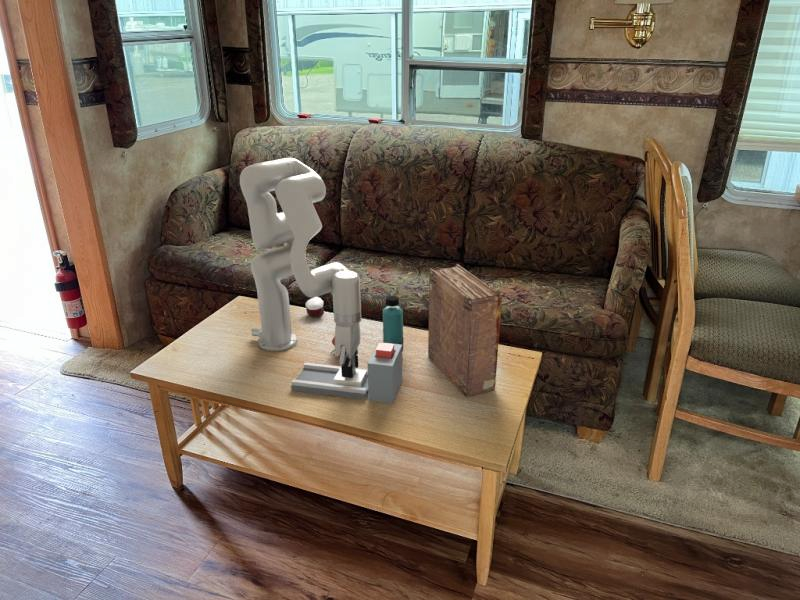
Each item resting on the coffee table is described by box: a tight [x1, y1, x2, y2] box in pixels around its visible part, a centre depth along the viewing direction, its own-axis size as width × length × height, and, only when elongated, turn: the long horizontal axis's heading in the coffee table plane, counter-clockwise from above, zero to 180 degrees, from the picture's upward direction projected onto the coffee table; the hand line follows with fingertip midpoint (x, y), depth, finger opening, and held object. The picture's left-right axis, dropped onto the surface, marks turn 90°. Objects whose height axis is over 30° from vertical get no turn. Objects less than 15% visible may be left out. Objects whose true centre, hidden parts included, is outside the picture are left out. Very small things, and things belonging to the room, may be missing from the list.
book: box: [427, 263, 503, 398], centre depth 180 cm, size 25×9×30 cm, turn 24°
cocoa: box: [305, 296, 325, 318], centre depth 220 cm, size 10×6×12 cm, turn 26°
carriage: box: [334, 353, 367, 387], centre depth 178 cm, size 8×6×9 cm
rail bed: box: [290, 362, 369, 401], centre depth 181 cm, size 22×12×3 cm, turn 77°
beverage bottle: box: [382, 295, 405, 353], centre depth 192 cm, size 6×7×20 cm
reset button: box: [376, 342, 394, 359], centre depth 173 cm, size 4×4×4 cm
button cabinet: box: [367, 341, 403, 404], centre depth 176 cm, size 7×12×12 cm, turn 167°
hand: (350, 371), depth 178 cm, fingers open, 4 cm apart
